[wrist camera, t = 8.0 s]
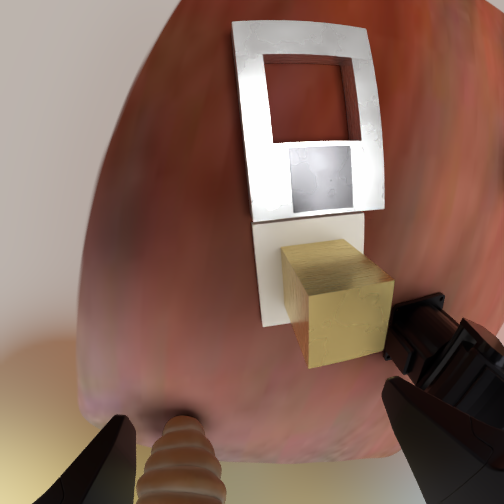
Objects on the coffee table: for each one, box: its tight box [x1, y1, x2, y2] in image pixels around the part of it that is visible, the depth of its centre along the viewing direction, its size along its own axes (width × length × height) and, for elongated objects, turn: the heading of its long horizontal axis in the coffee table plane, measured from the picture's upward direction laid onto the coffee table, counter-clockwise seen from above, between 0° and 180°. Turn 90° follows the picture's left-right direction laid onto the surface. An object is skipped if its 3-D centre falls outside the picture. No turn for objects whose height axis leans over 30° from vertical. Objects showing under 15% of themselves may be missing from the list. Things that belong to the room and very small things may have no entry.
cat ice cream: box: [136, 415, 226, 504], centre depth 17 cm, size 9×8×18 cm
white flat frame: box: [231, 20, 384, 222], centre depth 16 cm, size 9×13×2 cm
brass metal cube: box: [281, 239, 395, 369], centre depth 17 cm, size 5×5×7 cm
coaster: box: [251, 211, 364, 327], centre depth 20 cm, size 8×8×1 cm
